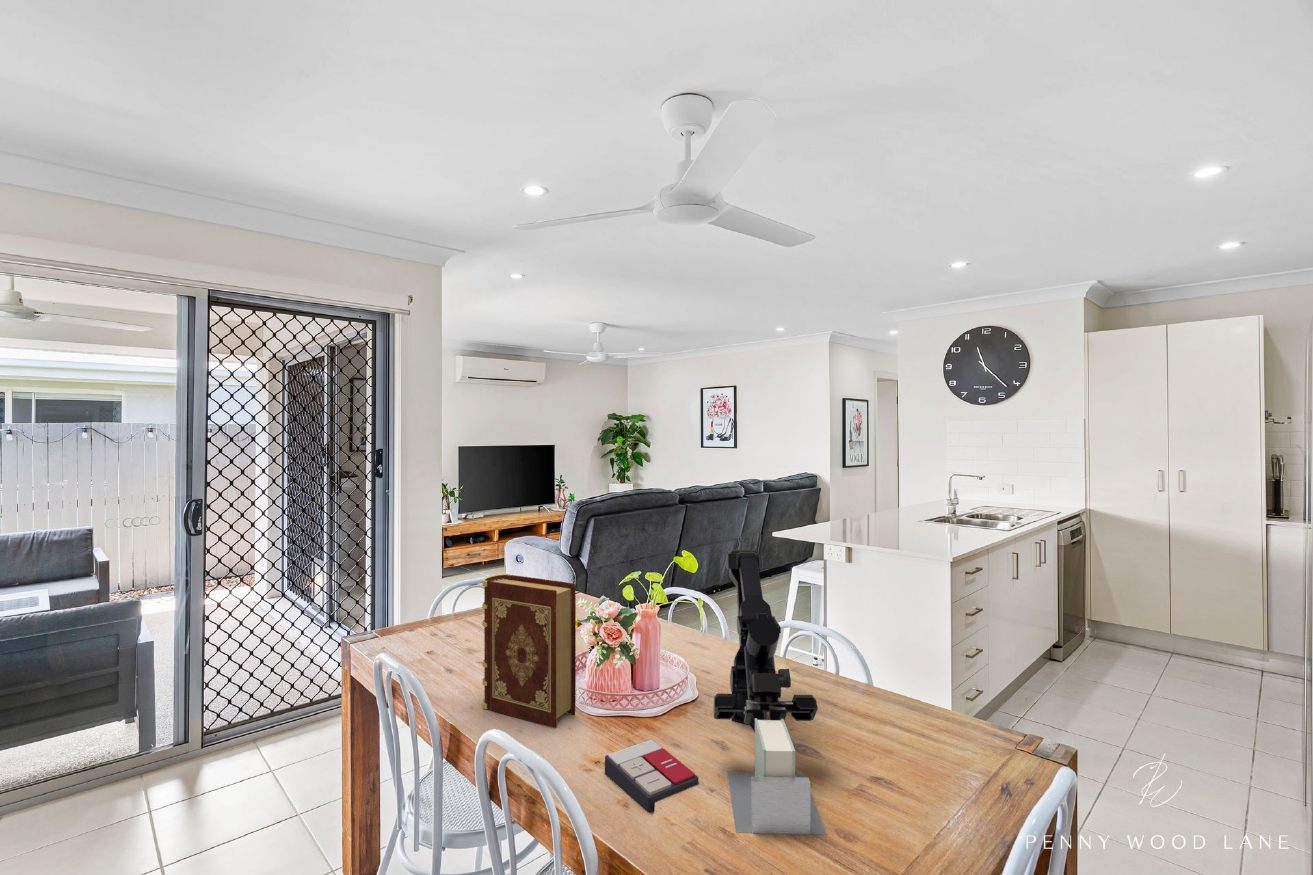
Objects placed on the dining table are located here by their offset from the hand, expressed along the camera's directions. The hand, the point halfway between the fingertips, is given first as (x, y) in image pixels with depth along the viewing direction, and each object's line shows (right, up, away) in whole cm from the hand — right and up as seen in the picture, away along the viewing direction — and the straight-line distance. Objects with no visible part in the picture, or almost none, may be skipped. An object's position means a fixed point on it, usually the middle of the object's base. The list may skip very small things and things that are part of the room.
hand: (768, 756), depth 109 cm
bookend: (0, -5, -12) cm, 13 cm away
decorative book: (-50, -7, +33) cm, 60 cm away
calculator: (-21, -7, +4) cm, 23 cm away
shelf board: (0, -7, -4) cm, 8 cm away
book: (0, -5, -6) cm, 8 cm away
